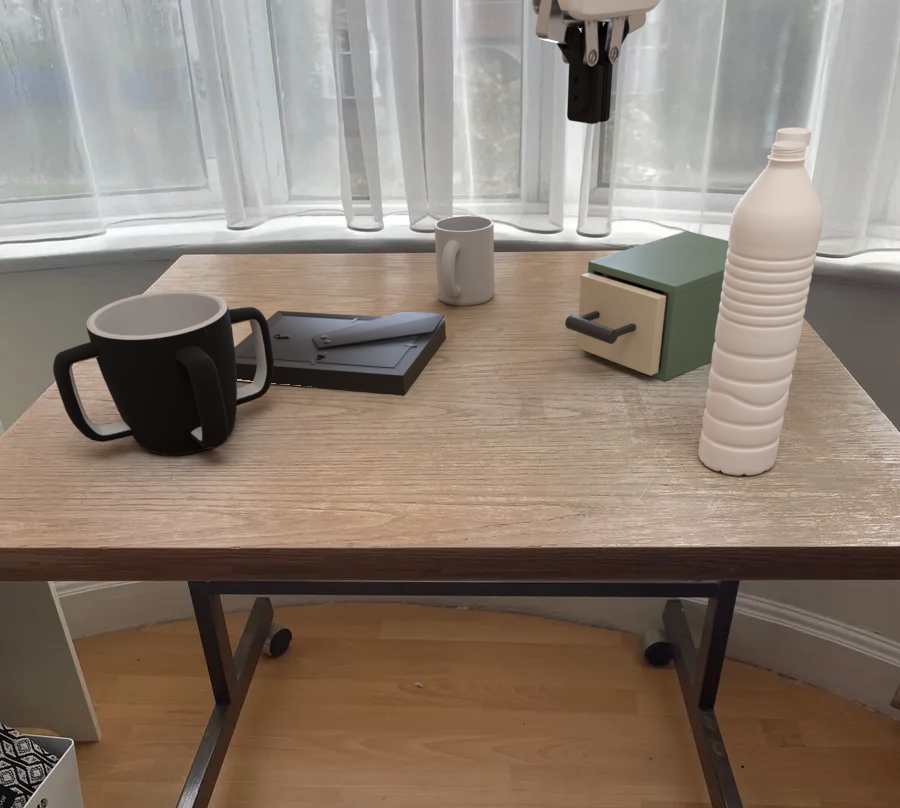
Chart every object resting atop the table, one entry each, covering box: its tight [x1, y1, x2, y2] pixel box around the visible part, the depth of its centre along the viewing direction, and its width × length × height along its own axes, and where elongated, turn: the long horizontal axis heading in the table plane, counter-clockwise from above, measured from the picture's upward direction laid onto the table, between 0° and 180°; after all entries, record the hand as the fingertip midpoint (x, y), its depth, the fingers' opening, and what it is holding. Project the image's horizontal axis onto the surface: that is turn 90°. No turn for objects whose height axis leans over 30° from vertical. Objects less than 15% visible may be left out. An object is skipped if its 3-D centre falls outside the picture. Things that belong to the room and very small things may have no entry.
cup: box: [434, 215, 495, 307], centre depth 111 cm, size 7×10×9 cm
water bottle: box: [697, 127, 824, 476], centre depth 71 cm, size 9×6×25 cm
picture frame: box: [234, 310, 447, 396], centre depth 99 cm, size 16×3×21 cm
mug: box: [52, 290, 274, 455], centre depth 82 cm, size 16×16×12 cm
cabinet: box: [587, 230, 729, 382], centre depth 96 cm, size 16×12×10 cm
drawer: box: [564, 272, 669, 377], centre depth 94 cm, size 19×10×8 cm, turn 129°
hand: (587, 120), depth 72 cm, fingers closed
